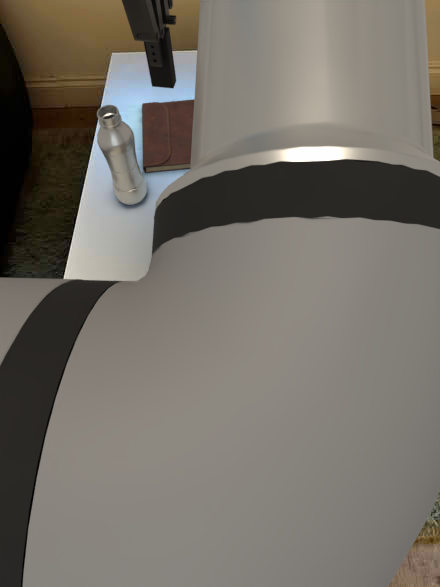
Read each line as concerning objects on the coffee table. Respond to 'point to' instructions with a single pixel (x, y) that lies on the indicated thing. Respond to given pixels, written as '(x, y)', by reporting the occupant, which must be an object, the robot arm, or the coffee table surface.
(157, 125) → the notebook
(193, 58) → the coffee table surface
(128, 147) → the silver bottle
